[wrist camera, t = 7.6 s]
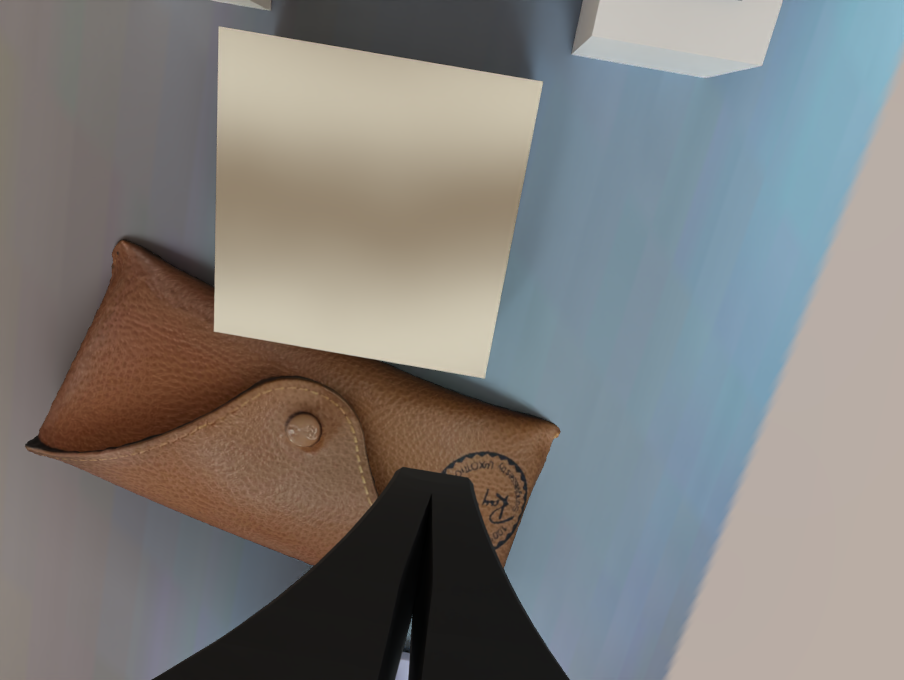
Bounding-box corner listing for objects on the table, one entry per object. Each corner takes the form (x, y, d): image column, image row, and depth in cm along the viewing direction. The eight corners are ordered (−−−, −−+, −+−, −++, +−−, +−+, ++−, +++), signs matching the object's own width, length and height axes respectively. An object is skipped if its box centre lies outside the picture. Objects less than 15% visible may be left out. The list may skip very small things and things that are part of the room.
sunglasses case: (580, 421, 21) (553, 609, 17) (509, 491, 27) (475, 647, 23) (103, 224, 20) (-53, 375, 16) (130, 340, 26) (19, 475, 21)
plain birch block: (486, 332, 21) (484, 378, 17) (263, 294, 21) (213, 331, 17) (533, 90, 18) (543, 81, 14) (275, 46, 18) (218, 26, 14)
